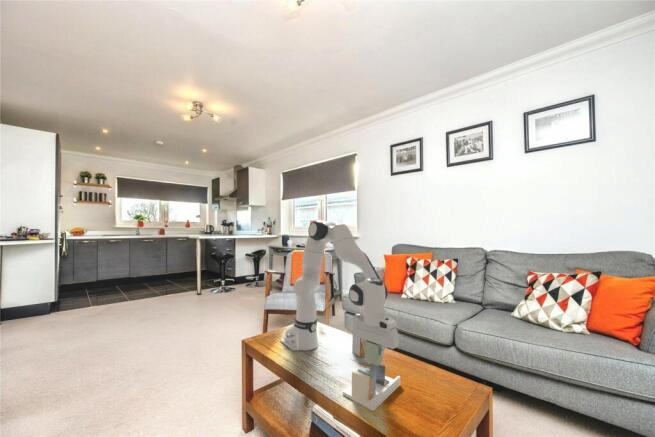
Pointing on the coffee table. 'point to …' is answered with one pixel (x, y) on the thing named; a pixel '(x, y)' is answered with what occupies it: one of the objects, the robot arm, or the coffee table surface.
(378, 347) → the sage green cuboid
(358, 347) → the small box
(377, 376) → the slotted holder
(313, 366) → the coffee table surface
